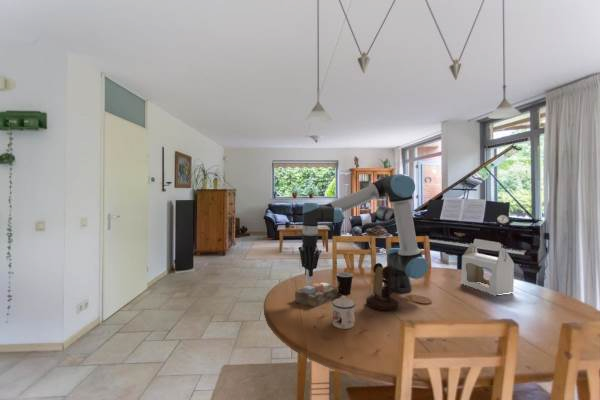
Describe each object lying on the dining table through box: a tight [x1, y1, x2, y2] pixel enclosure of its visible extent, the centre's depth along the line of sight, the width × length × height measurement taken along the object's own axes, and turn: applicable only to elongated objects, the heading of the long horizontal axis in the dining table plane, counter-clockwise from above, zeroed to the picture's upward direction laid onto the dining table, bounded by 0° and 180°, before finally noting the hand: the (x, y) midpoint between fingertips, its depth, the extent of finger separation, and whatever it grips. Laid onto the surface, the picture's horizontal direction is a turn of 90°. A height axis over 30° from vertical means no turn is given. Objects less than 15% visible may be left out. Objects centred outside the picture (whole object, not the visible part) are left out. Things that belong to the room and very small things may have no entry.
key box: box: [294, 282, 338, 309], centre depth 145 cm, size 19×12×5 cm, turn 138°
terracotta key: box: [310, 282, 323, 292], centre depth 145 cm, size 4×4×5 cm
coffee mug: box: [336, 272, 354, 296], centre depth 157 cm, size 12×9×10 cm
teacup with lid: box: [331, 295, 356, 330], centre depth 116 cm, size 12×9×12 cm
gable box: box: [461, 238, 515, 295], centre depth 166 cm, size 22×13×28 cm, turn 19°
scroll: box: [365, 262, 399, 312], centre depth 137 cm, size 15×15×20 cm
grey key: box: [302, 284, 315, 295], centre depth 141 cm, size 4×4×5 cm
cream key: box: [319, 282, 331, 289], centre depth 150 cm, size 4×4×5 cm
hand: (308, 282), depth 141 cm, fingers closed
